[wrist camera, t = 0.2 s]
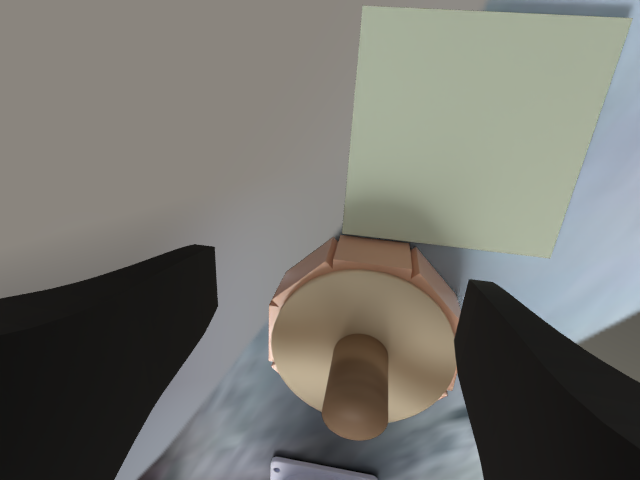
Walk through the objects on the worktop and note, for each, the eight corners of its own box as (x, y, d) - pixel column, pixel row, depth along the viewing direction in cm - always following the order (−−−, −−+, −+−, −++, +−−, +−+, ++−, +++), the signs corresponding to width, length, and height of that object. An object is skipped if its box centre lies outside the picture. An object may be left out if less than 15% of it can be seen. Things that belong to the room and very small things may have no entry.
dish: (435, 392, 24) (440, 432, 22) (281, 367, 26) (268, 402, 23) (470, 250, 20) (482, 278, 18) (284, 228, 22) (269, 251, 19)
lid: (436, 428, 22) (446, 508, 18) (273, 399, 23) (249, 469, 19) (474, 283, 18) (498, 345, 14) (275, 257, 19) (245, 307, 15)
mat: (547, 255, 20) (549, 258, 19) (342, 230, 21) (341, 233, 21) (627, 19, 15) (633, 18, 15) (363, 6, 17) (362, 5, 16)
